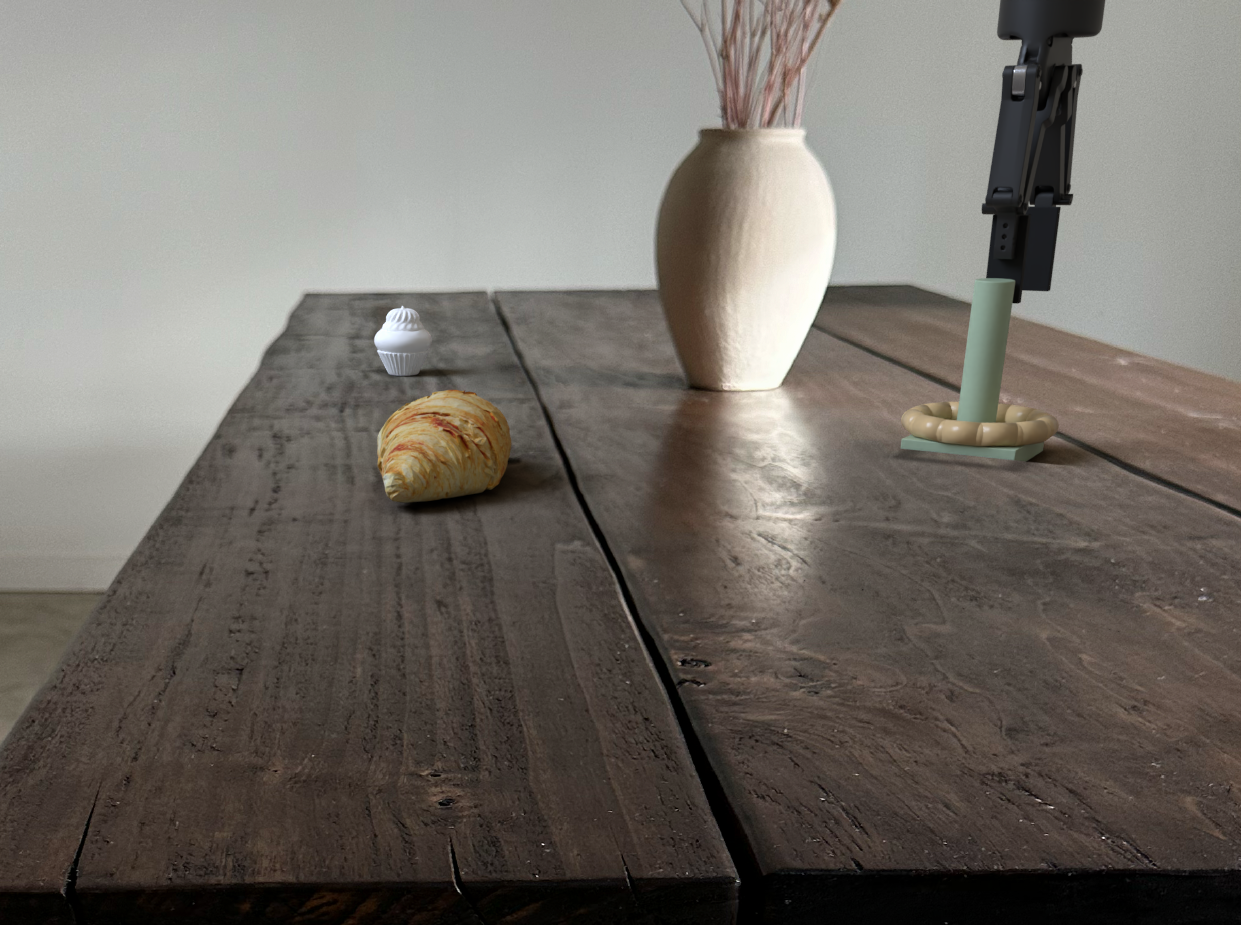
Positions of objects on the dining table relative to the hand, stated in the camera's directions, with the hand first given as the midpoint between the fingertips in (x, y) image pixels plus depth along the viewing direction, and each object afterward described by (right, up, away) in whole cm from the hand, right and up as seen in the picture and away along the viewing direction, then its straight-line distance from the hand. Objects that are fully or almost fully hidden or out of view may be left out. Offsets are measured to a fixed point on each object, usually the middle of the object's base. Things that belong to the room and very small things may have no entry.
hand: (1017, 295), depth 130 cm
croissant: (-47, -18, -10) cm, 51 cm away
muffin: (-50, +5, +42) cm, 66 cm away
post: (-4, -13, 0) cm, 13 cm away
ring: (-3, -10, 0) cm, 11 cm away
